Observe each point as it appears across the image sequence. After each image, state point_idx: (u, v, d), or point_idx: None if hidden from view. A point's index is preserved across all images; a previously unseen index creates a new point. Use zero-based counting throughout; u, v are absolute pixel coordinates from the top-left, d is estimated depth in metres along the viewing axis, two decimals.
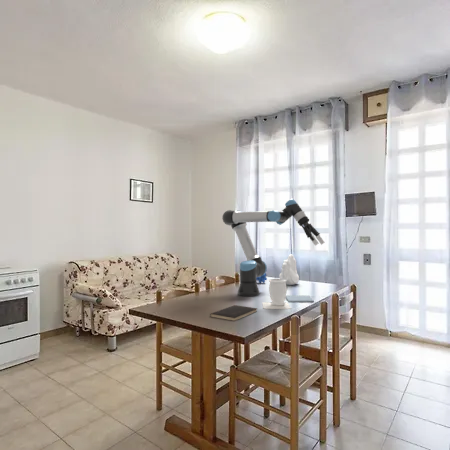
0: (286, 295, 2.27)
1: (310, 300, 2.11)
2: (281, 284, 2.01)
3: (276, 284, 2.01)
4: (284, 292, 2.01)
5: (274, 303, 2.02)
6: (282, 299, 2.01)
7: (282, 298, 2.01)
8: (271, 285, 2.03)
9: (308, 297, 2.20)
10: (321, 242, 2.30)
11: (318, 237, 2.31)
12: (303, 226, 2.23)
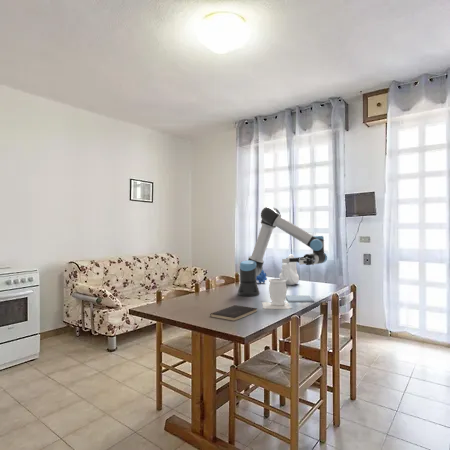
0: (286, 295, 2.27)
1: (310, 300, 2.11)
2: (281, 284, 2.01)
3: (276, 284, 2.01)
4: (284, 292, 2.01)
5: (274, 303, 2.02)
6: (282, 299, 2.01)
7: (282, 298, 2.01)
8: (271, 285, 2.03)
9: (308, 297, 2.20)
10: (284, 260, 2.20)
11: (288, 260, 2.22)
12: (313, 260, 2.19)
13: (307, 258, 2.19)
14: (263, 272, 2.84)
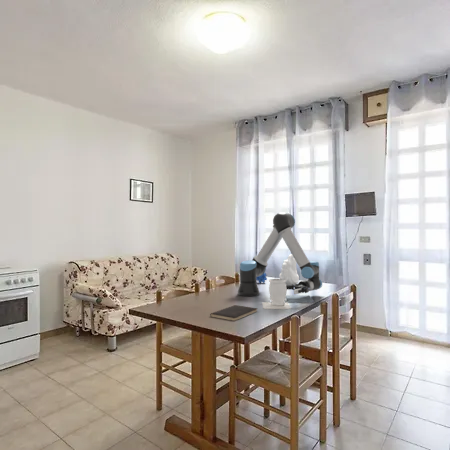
0: (286, 295, 2.27)
1: (310, 300, 2.11)
2: (281, 284, 2.01)
3: (276, 284, 2.01)
4: (284, 292, 2.01)
5: (274, 303, 2.02)
6: (282, 299, 2.01)
7: (282, 298, 2.01)
8: (271, 285, 2.03)
9: (308, 297, 2.20)
10: None
11: None
12: (308, 288, 2.14)
13: (302, 286, 2.14)
14: None
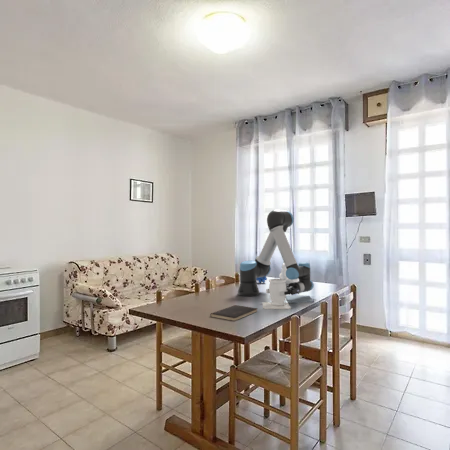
0: (286, 295, 2.27)
1: (310, 300, 2.11)
2: (281, 284, 2.01)
3: (276, 284, 2.01)
4: None
5: (274, 303, 2.02)
6: (282, 299, 2.01)
7: (282, 298, 2.01)
8: (271, 285, 2.03)
9: (308, 297, 2.20)
10: (268, 290, 2.07)
11: None
12: (297, 290, 2.07)
13: (291, 288, 2.08)
14: None
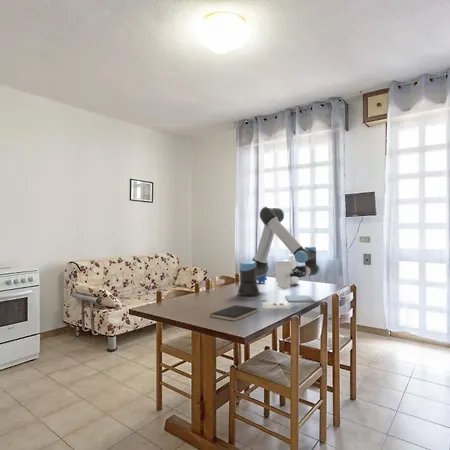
0: (286, 295, 2.27)
1: (310, 300, 2.11)
2: (287, 266, 2.03)
3: (282, 266, 2.03)
4: None
5: (280, 285, 2.05)
6: (288, 281, 2.04)
7: (288, 280, 2.04)
8: (277, 267, 2.05)
9: (308, 297, 2.20)
10: (274, 273, 2.09)
11: None
12: (303, 272, 2.09)
13: (296, 270, 2.10)
14: None
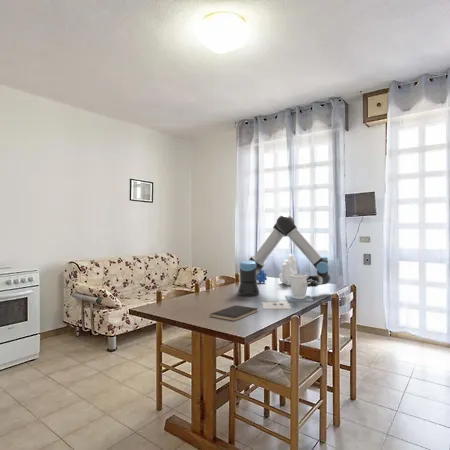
0: (286, 295, 2.27)
1: (310, 300, 2.11)
2: (302, 279, 2.15)
3: (298, 279, 2.15)
4: None
5: (296, 297, 2.16)
6: (303, 293, 2.15)
7: (303, 292, 2.15)
8: (293, 280, 2.16)
9: (308, 297, 2.20)
10: (288, 282, 2.22)
11: None
12: (317, 282, 2.21)
13: (311, 280, 2.22)
14: (263, 272, 2.84)
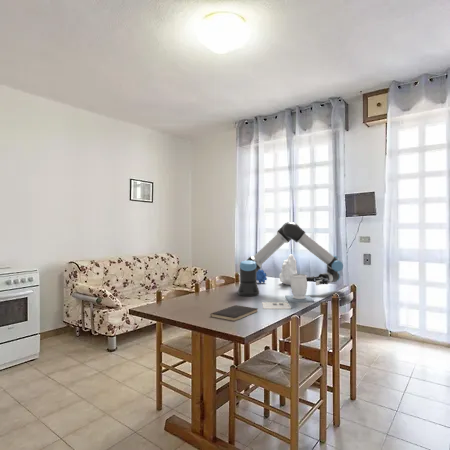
0: (286, 295, 2.27)
1: (310, 300, 2.11)
2: (302, 279, 2.15)
3: (298, 279, 2.15)
4: (305, 286, 2.15)
5: (296, 297, 2.16)
6: (303, 293, 2.15)
7: (303, 292, 2.15)
8: (293, 280, 2.17)
9: (308, 297, 2.20)
10: None
11: None
12: (328, 280, 2.30)
13: (322, 278, 2.30)
14: (263, 272, 2.84)
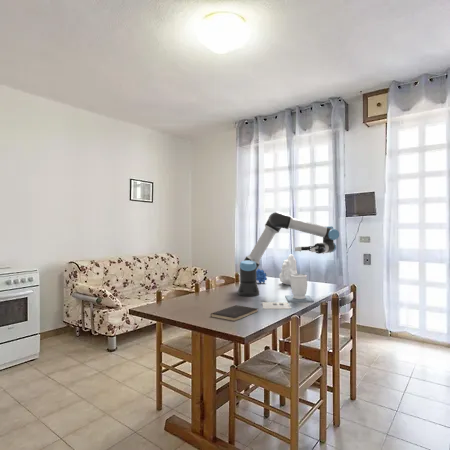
0: (286, 295, 2.27)
1: (310, 300, 2.11)
2: (302, 279, 2.15)
3: (298, 279, 2.15)
4: (305, 286, 2.15)
5: (296, 297, 2.16)
6: (303, 293, 2.15)
7: (303, 292, 2.15)
8: (293, 280, 2.17)
9: (308, 297, 2.20)
10: (296, 248, 2.33)
11: (300, 249, 2.36)
12: (324, 248, 2.32)
13: (318, 247, 2.33)
14: (263, 272, 2.84)
